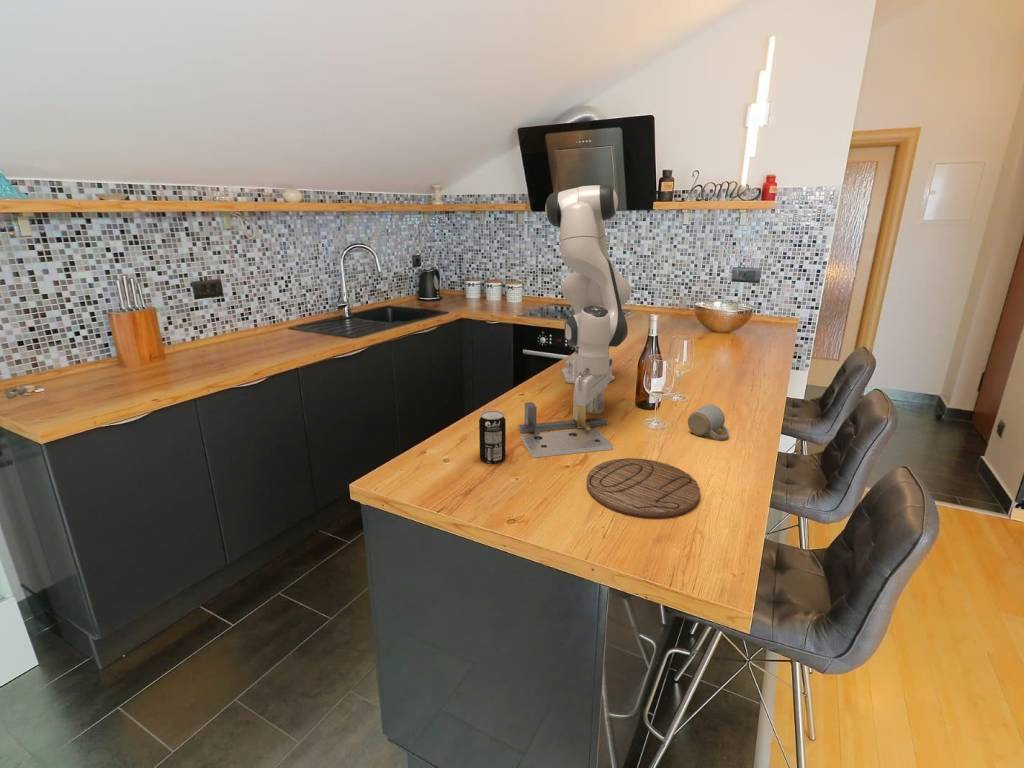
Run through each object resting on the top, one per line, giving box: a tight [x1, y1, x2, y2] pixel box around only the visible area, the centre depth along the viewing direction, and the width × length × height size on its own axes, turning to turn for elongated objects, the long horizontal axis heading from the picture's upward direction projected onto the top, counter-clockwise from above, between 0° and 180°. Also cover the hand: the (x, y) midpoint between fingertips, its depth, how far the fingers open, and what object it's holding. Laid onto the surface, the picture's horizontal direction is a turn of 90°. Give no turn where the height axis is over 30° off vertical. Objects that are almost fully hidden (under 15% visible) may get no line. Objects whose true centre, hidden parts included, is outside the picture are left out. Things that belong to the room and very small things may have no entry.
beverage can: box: [478, 410, 507, 464], centre depth 135 cm, size 7×7×12 cm
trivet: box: [586, 457, 701, 520], centre depth 122 cm, size 25×25×2 cm
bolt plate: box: [520, 427, 614, 459], centre depth 145 cm, size 12×22×1 cm, turn 103°
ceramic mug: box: [687, 403, 730, 441], centre depth 151 cm, size 11×8×8 cm
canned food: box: [579, 373, 605, 415], centre depth 168 cm, size 8×8×12 cm
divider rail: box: [518, 401, 608, 435], centre depth 152 cm, size 10×26×8 cm, turn 103°
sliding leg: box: [571, 401, 591, 430], centre depth 153 cm, size 10×2×8 cm, turn 13°
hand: (590, 410), depth 156 cm, fingers closed
